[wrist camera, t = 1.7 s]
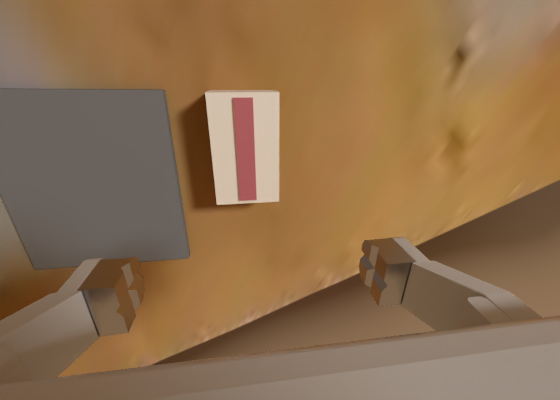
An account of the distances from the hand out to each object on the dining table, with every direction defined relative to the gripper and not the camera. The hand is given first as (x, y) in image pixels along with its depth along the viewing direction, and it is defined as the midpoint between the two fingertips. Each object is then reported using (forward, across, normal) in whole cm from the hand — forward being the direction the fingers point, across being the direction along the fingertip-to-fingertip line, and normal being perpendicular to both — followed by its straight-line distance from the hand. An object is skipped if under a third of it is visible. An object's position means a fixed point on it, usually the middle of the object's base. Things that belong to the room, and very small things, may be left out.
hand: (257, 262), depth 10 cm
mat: (+19, +15, +4) cm, 25 cm away
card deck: (+20, 0, 0) cm, 20 cm away
